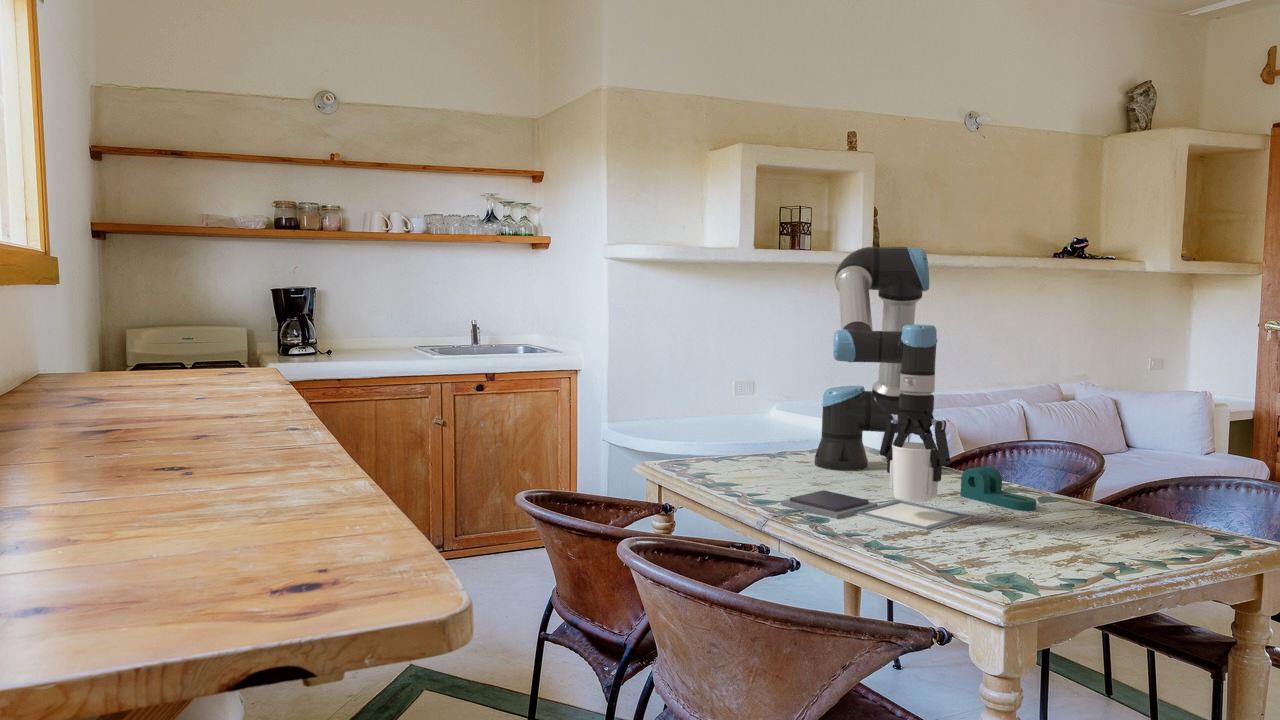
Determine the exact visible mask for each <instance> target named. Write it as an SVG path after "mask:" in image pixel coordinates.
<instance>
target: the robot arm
mask: <svg viewBox="0 0 1280 720" xmlns="http://www.w3.org/2000/svg"><path fill="white" fill-rule="evenodd" d="M929 269H930V268H929V261H928V255H927V253H926V251H925V250H924V249H923V248H920V247H912V246H911V247H910V246H896V247H895V246H879V247H876V246H875V247H874V246H867V247H866V246H865V247H862V248H860V249H859V248H858V249H857V250H855V251H853V252H851V253H849V255H847V256H845V258H844V259H843V260H842V261H841V262H840V263H839V265H838V267H837V269H836V271H835V275H834V285H835V288H836V290H837V292H838V293H839V312H840V313H839V314H840V317H839V319H840V329H839V330H835V331H834V334H833V346H832V347H833V348H832V349H833V350H832V351H833V352H832V355H833V359H834V360H835V361H838V362H846V363H879V366H878V367H879V368H878V380H877V381H876V382H874V383H873V384H872V387H871V388H872V389H871V390H865V387H864V386H863V385H844V386H835V387H831V388H827V389H825V391H824V392H823V397H822V404H821V407H822V419H821V420H822V421H821V438H820V441H819V444H818V447H817V450H816V452H815V455H814V465H815V466H816V467H819V468H823V469H828V470H835V471H836V470H837V471H860V470H865V469H867V468H868V464H869V463H868V456H867V453H866V450H865V447H864V443H863V432H877V433H878V432H880V433H884V434H883V437H882V442H881V446H880V450H879V455H880V456H883V457H885V458H886V472H887V473H888V474H889V477H888V478H889V480H888V481H889V483H888V487H889V489H892V490H893V463H892V444H893V443H894V446H896V447H900V448H902V446H903V444H904V442H906V440H907V439H908V436H909V435H915V436H919V438H920V439H921V440H922V443H924V445H925V448H926V449H931V454H930V460H931V463H932V466H931V467H929V479H928V496H932V497H935V496H937V495H938V485H939V482H941V480H942V470H943V467H945V466H948V465H951V463H952V462H951V458H950V451H949V444H948V440H947V433H946V428H947V421H946V420H945V419H944V420H943V419H942V420H939V419H936V418H935V417H934V415H933V412H934V409H935V407H934V406H935V396H934V395H933V394H932V393H934V392H935V390H936V387H935V386H936V385H935V384H936V382H935V381H936V357H937V355H936V354H937V343H938V338H937V337H938V334H937V328H936V326H935V325H931V324H915V317H916V307H917V303H918V302H919V301H920V300H922V299H923V292H927V291H929V289H930V270H929ZM870 290H871V291H878V297H879V298H880V300H882V302H883V303H882V304H883V307H882V320H881V321H882V323H881V330H874V329H873V322H872V311H871V310H872V309H871V299H870ZM931 427H933V429H934V436H933V432H932V430H931ZM896 434H897V435H896ZM895 435H896V436H895ZM933 437H935V441H934V438H933ZM933 449H935V450H933Z"/></svg>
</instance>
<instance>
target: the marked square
mask: <svg viewBox="0 0 1280 720" xmlns="http://www.w3.org/2000/svg"><path fill="white" fill-rule="evenodd" d="M853 515H855V516H859V517H860V516H861V517H864V518H868V519H872V520H877V521H881V522H886V523H889V524H895V525H898V526H902V527H906V528H911V529H915V530H919V531H923V532H924V531H925V532H930V531H933V530H937V529H940V528H943V527H946V526H949V525H952V524H956V523H958V522H962V521H965V520H967V519H971V518H973V517H972V516H971V515H970V514H966V513H961V512H957V511H951V510H946V509H942V508H938V507H933V506H929V505H924V504H919V503H916V502H909V501H903V500H899V499H896V500H894V501H890V502H885V503H881V504H879V505H878V506H875V507H871V508H868V509H864V510H860V511H856V512H855V513H854V514H853Z"/></svg>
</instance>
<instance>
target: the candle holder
mask: <svg viewBox="0 0 1280 720" xmlns="http://www.w3.org/2000/svg"><path fill="white" fill-rule="evenodd" d="M933 450H935V449H933ZM930 454H931V449H926V448H925V445H924V443H923V442H911V441H910V442H908V441H905V442H904V444H903V446H902V448H900V447H896V446H894V443H892V463H893V489H892V493H893V497H894V498H895V499H896V500H900V501H905V502H910V503H926V502H930V501H931V500H932V497H933V496H928V479H929V467H931V466H932V463H931V460H930Z"/></svg>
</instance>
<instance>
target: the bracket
mask: <svg viewBox="0 0 1280 720" xmlns="http://www.w3.org/2000/svg"><path fill="white" fill-rule="evenodd" d="M1002 486H1003V478H1002V475H1001V473H1000V471H999V470H998V469H997V468H996V467H994V466H992V465H985V466H980V467H971V468H967V469H965V470H964V471H963V472H962V474H961V480H960V498H961V497H962V498H966V499H969V500H972V501H973V500H974V501H977V502H982V503H986V504H990V505H994V506H997V507H1001V508H1006V509H1010V510H1013V511H1020V512H1021V511H1022V512H1032V511H1036V509H1037V499H1036V498H1033V497H1029V496H1024V495H1020V494H1017V493H1012V492H1008V491H1003V490H1002V489H1003V488H1002Z"/></svg>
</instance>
